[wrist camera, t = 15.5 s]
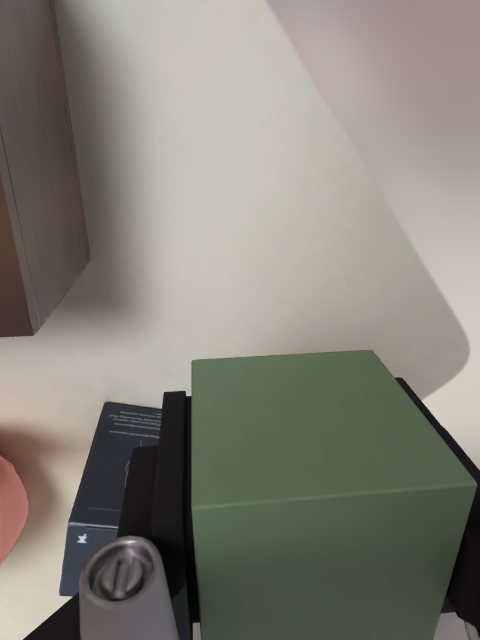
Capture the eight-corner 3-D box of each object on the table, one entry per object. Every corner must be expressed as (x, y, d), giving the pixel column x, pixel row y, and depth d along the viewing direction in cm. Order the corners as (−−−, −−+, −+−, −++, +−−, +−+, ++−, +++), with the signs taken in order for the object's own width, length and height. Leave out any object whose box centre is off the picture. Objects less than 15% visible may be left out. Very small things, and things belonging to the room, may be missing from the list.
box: (95, 461, 33) (55, 599, 23) (104, 398, 31) (65, 522, 21) (197, 473, 35) (199, 608, 25) (213, 414, 32) (222, 537, 23)
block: (191, 359, 11) (191, 507, 7) (372, 348, 11) (479, 483, 7) (200, 497, 12) (204, 681, 8) (354, 485, 13) (430, 654, 9)
